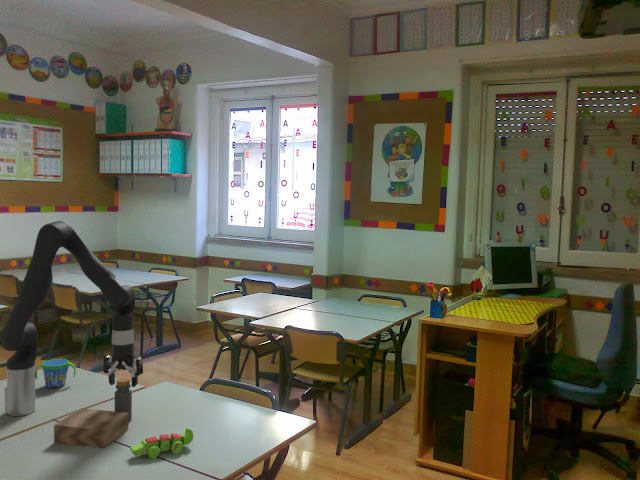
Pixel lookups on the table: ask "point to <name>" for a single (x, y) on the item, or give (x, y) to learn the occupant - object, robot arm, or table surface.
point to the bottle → (123, 397)
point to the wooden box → (91, 428)
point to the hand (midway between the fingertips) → (123, 385)
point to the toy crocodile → (163, 444)
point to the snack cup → (55, 372)
